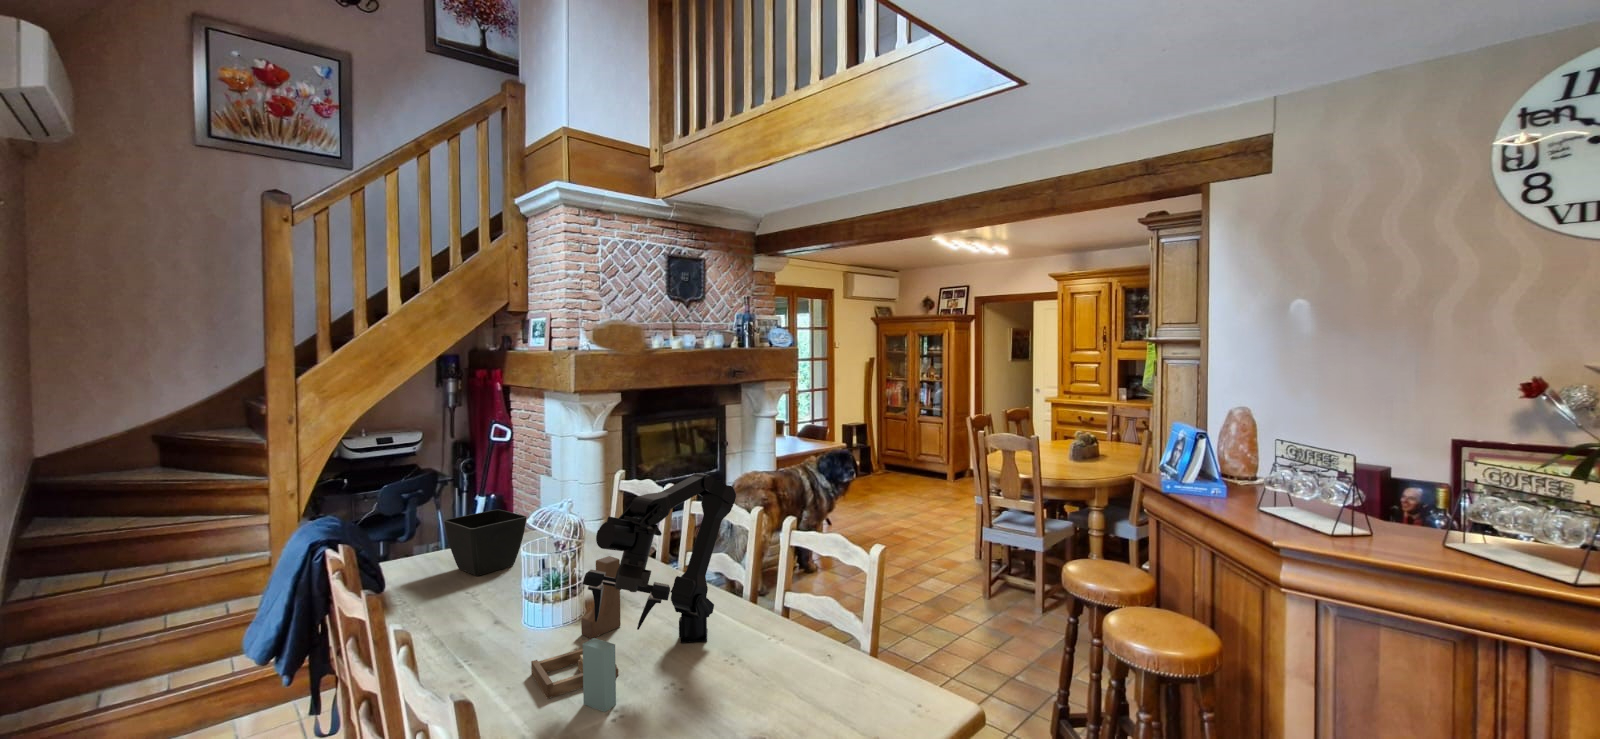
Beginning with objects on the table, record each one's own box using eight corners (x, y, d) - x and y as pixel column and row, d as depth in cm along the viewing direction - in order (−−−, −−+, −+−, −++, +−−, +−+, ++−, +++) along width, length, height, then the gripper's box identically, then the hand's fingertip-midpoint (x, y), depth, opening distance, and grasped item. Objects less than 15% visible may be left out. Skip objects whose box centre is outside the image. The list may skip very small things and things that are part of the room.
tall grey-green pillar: (594, 697, 129) (593, 637, 129) (616, 704, 126) (615, 644, 126) (583, 704, 126) (582, 644, 126) (605, 712, 124) (604, 650, 123)
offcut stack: (600, 662, 144) (600, 648, 144) (609, 672, 139) (609, 658, 139) (577, 669, 141) (577, 654, 141) (586, 680, 136) (586, 665, 136)
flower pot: (499, 554, 220) (498, 507, 220) (529, 565, 209) (528, 515, 209) (443, 570, 205) (442, 519, 204) (472, 582, 194) (471, 529, 193)
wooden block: (591, 639, 155) (590, 568, 154) (580, 634, 157) (579, 564, 157) (621, 626, 162) (620, 558, 162) (610, 622, 165) (609, 555, 164)
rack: (598, 653, 147) (598, 641, 147) (618, 675, 138) (618, 662, 137) (531, 674, 138) (531, 661, 138) (547, 699, 128) (547, 684, 128)
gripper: (590, 546, 131) (568, 624, 127) (677, 564, 134) (658, 640, 130) (596, 543, 141) (575, 615, 137) (676, 560, 144) (659, 630, 140)
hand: (617, 625), depth 136 cm, fingers open, 9 cm apart
